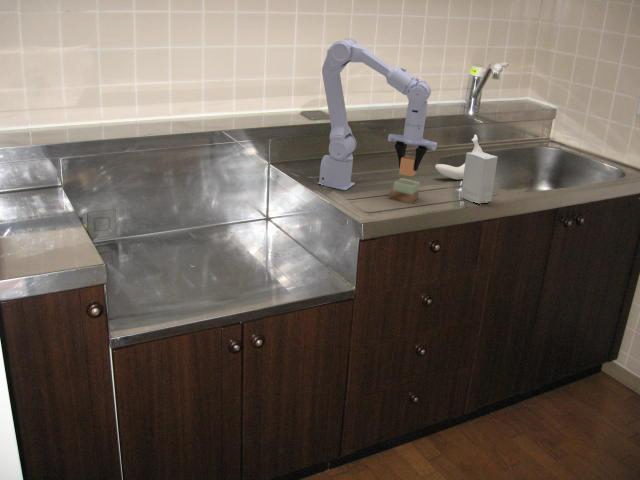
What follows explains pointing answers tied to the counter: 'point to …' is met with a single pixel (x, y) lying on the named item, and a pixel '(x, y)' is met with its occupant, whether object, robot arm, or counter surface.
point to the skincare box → (478, 177)
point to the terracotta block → (407, 165)
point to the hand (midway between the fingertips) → (408, 168)
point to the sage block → (406, 186)
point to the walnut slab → (403, 196)
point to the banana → (456, 171)
